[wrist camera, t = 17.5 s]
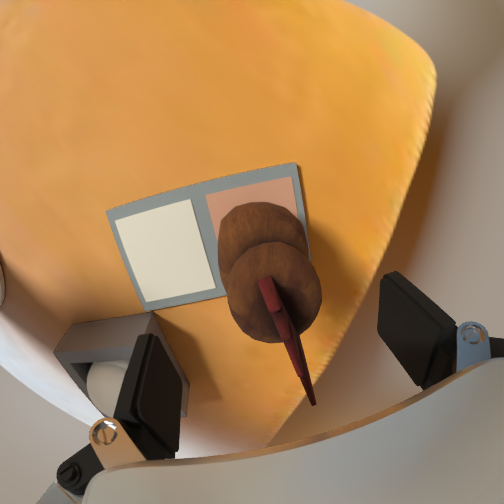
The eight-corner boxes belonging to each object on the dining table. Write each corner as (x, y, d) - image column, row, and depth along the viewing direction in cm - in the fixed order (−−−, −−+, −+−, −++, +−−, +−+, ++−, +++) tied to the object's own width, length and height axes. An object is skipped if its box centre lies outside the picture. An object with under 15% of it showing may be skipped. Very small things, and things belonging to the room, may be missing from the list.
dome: (116, 385, 27) (102, 430, 20) (88, 343, 24) (64, 389, 18) (166, 382, 27) (158, 432, 21) (140, 337, 24) (122, 389, 18)
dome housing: (114, 389, 29) (105, 417, 24) (71, 324, 25) (53, 352, 20) (189, 383, 29) (186, 416, 24) (152, 311, 25) (140, 344, 20)
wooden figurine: (289, 269, 23) (356, 414, 10) (222, 273, 23) (223, 434, 9) (290, 191, 21) (402, 281, 7) (216, 194, 20) (197, 299, 7)
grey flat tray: (146, 307, 24) (144, 311, 24) (108, 209, 21) (105, 211, 20) (310, 272, 25) (313, 275, 24) (294, 162, 21) (296, 162, 20)
